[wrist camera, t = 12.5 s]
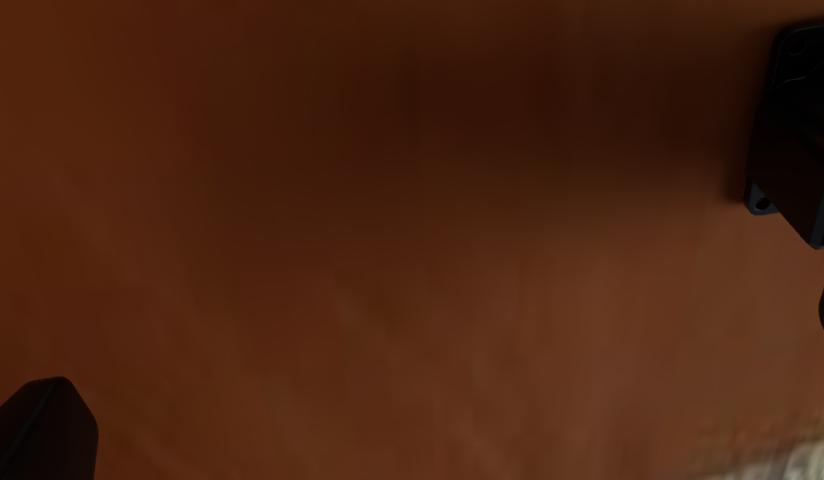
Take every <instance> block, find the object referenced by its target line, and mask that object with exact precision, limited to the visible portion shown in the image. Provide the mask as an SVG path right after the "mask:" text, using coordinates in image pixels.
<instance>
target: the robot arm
mask: <svg viewBox="0 0 824 480" xmlns="http://www.w3.org/2000/svg"><path fill="white" fill-rule="evenodd" d="M796 38H799V40H798V42H797V44H796V45H795V46H794V47H793V48H790V49H788V46H789V44H790V43H791V42H792V41H793V40H794V39H796ZM745 173H746V174H747V180H746V185H745V190H744V195H743V204H744V205H745V207H746V208H747V209H748V210H749V212H750V213H751V214H753V215H766V214H772V213H779V212H780V213H781V214H782V216H783V217H784V218H785V219H786V220H787V221H788V222H789V224H790V225H791V226H792V227H793V228H794V229H795V230H796V232H797V233H798V234H799V235H800V236H801V237H802V238H803V240H804V241H805V242H806V243H807V244H808V245H810V246H811V247H812V248H814V249H815V250H817V249H824V19H822V20H816V21H810V22H804V23H798V24H792V25H789V26H787V27H785V28H784V29H782V30H781V31H780V32H779V33H778V34H777V35H776V37H775V39H774V41H773V44H772V49H771V55H770V60H769V65H768V70H767V75H766V81H765V86H764V91H763V96H762V99H761V100H760V102H759V103H758V105H757V107H756V113H755V118H754V123H753V129H752V134H751V139H750V145H749V150H748V155H747V161H746V166H745ZM763 197H764V199H763V200H761V201H760V202H757V201H758V200H759V199H760V198H763ZM819 318H820V322H821V324H822V327H823V329H824V289H823V292H822V295H821V298H820V302H819ZM97 446H98V426H97V423H96V420H95V418H94V416H93V414H92V413H91V411H90V410H89V408H88V407H87V405H86V404H85V402H84V401H83V399H82V398H81V396H80V395H79V393H78V392H77V390H76V388H75V387H74V385H73V384H72V383H71V381H70V380H68V379H67V378H65V377H60V376H58V377H51V378H45V379H39V380H33V381H30V382H28V383H26V384H25V385H23V386H22V387H21V388H20V389H19V390H18V391H17V392H16V393H15V394H13V395H12V396H11V397H10V398H9V399H8V400H7V401H6V402H5V403H4V404H3V405H2V406H1V407H0V480H94V472H95V463H96V455H97Z"/></svg>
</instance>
